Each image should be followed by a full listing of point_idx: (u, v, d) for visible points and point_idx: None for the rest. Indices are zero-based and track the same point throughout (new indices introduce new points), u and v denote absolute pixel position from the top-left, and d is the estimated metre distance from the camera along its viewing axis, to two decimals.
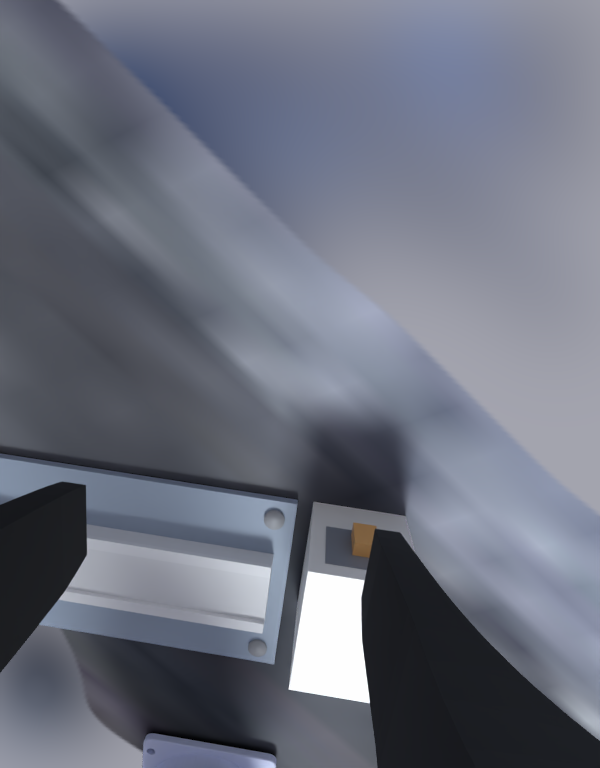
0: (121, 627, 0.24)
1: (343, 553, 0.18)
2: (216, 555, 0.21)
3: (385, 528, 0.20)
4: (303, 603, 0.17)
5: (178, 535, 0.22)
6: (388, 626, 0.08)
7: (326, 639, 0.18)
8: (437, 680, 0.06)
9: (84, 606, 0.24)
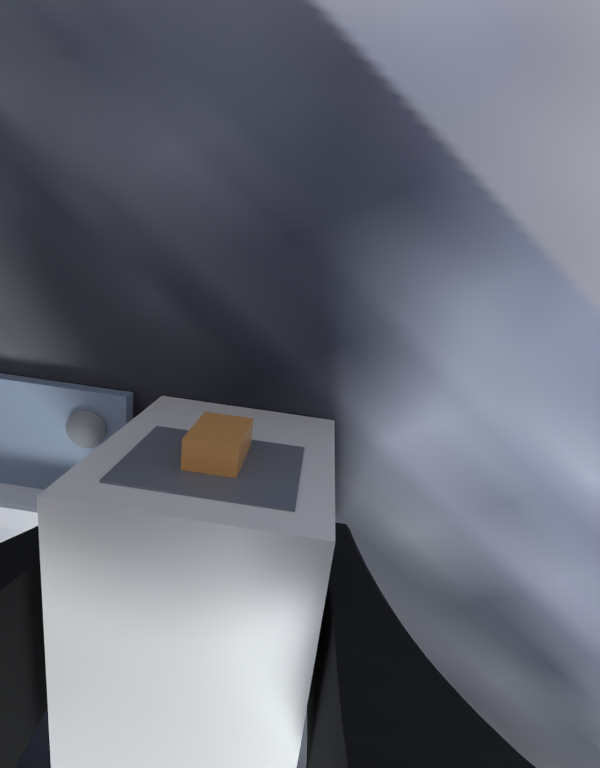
0: None
1: (163, 467, 0.08)
2: None
3: (285, 435, 0.10)
4: (44, 579, 0.07)
5: None
6: None
7: (112, 668, 0.07)
8: (340, 664, 0.06)
9: None
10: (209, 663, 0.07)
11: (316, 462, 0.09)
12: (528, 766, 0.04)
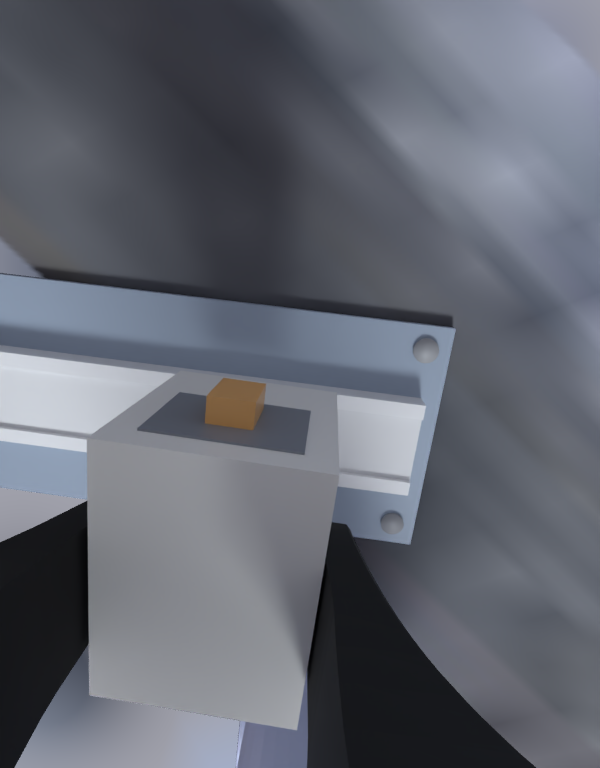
0: None
1: (189, 421, 0.09)
2: (356, 395, 0.18)
3: (293, 402, 0.11)
4: (90, 513, 0.08)
5: (305, 378, 0.18)
6: (320, 615, 0.08)
7: (146, 592, 0.09)
8: (340, 664, 0.06)
9: None
10: (231, 586, 0.08)
11: (321, 421, 0.10)
12: (528, 766, 0.04)
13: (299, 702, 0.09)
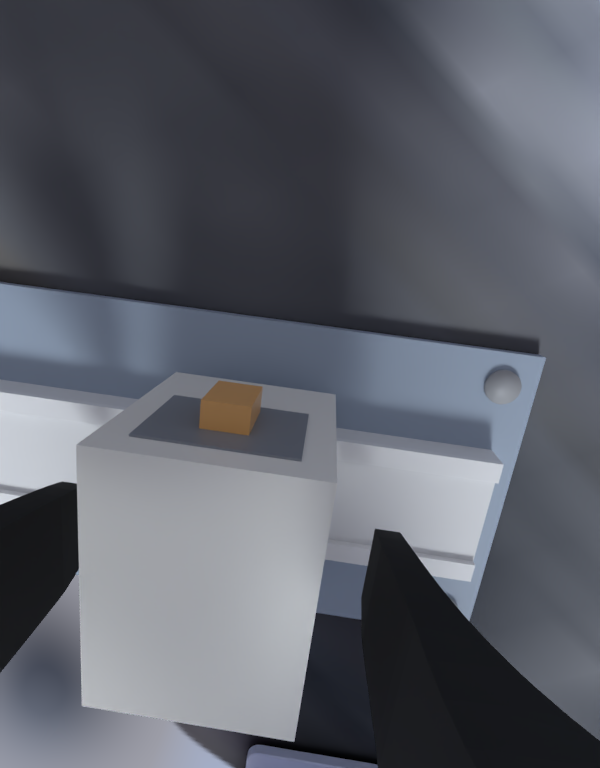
0: None
1: (183, 426, 0.09)
2: (405, 447, 0.13)
3: (290, 404, 0.11)
4: (81, 521, 0.08)
5: None
6: (388, 626, 0.08)
7: (139, 602, 0.08)
8: (437, 680, 0.06)
9: None
10: (226, 596, 0.08)
11: (319, 425, 0.10)
12: None
13: (297, 713, 0.09)
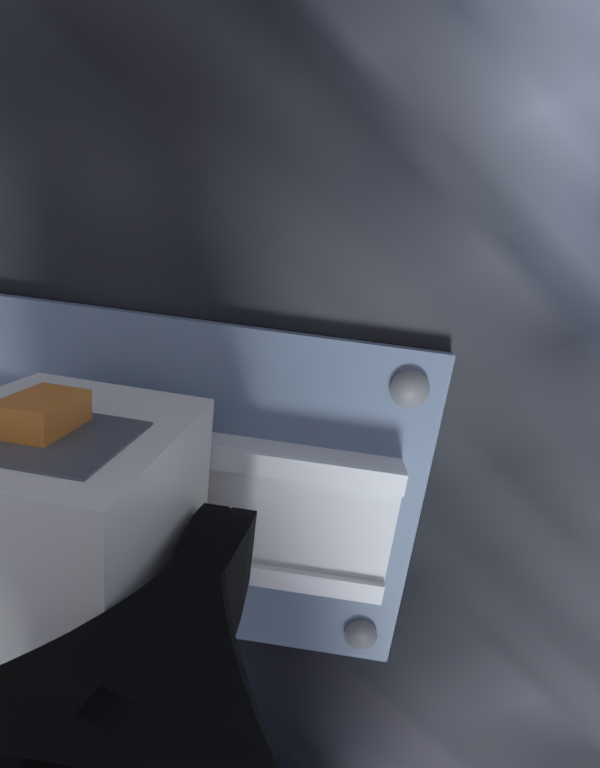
0: None
1: None
2: (301, 456, 0.11)
3: (143, 410, 0.09)
4: None
5: (227, 427, 0.12)
6: None
7: None
8: (131, 630, 0.06)
9: None
10: None
11: (156, 435, 0.08)
12: (251, 720, 0.04)
13: None
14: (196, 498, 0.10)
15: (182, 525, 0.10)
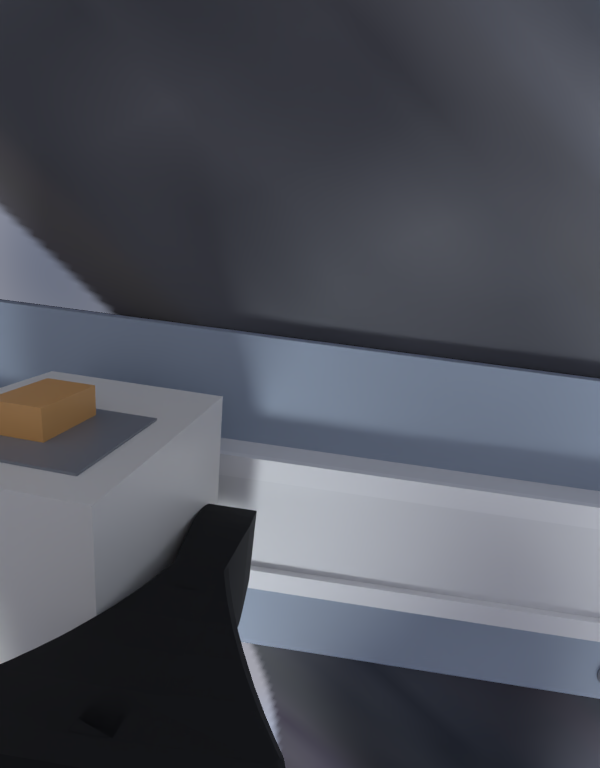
0: (369, 642, 0.14)
1: None
2: None
3: (149, 407, 0.09)
4: None
5: (512, 471, 0.12)
6: None
7: None
8: (135, 631, 0.06)
9: (309, 607, 0.14)
10: None
11: (157, 432, 0.08)
12: (257, 720, 0.04)
13: None
14: (205, 497, 0.10)
15: (187, 524, 0.09)
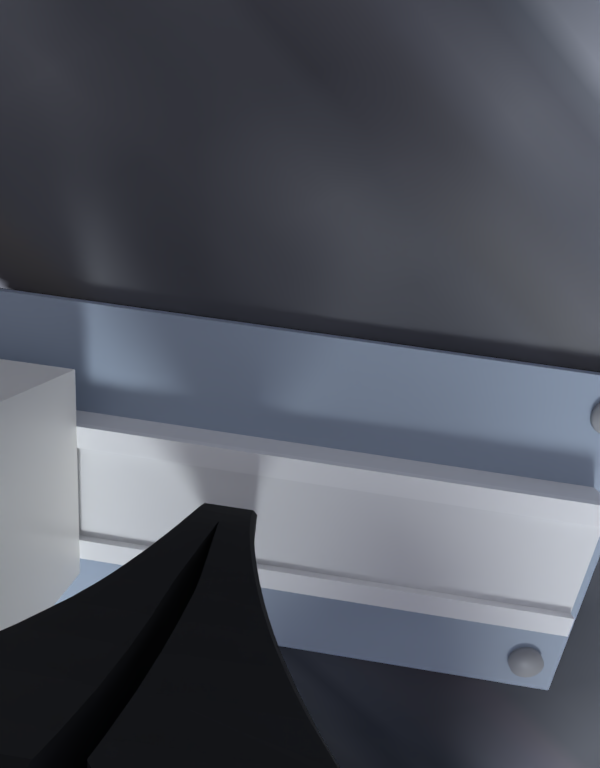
0: (280, 626, 0.14)
1: None
2: (501, 486, 0.11)
3: None
4: None
5: (412, 453, 0.12)
6: None
7: None
8: (174, 637, 0.06)
9: None
10: None
11: None
12: (309, 729, 0.04)
13: None
14: (55, 467, 0.10)
15: (29, 491, 0.10)
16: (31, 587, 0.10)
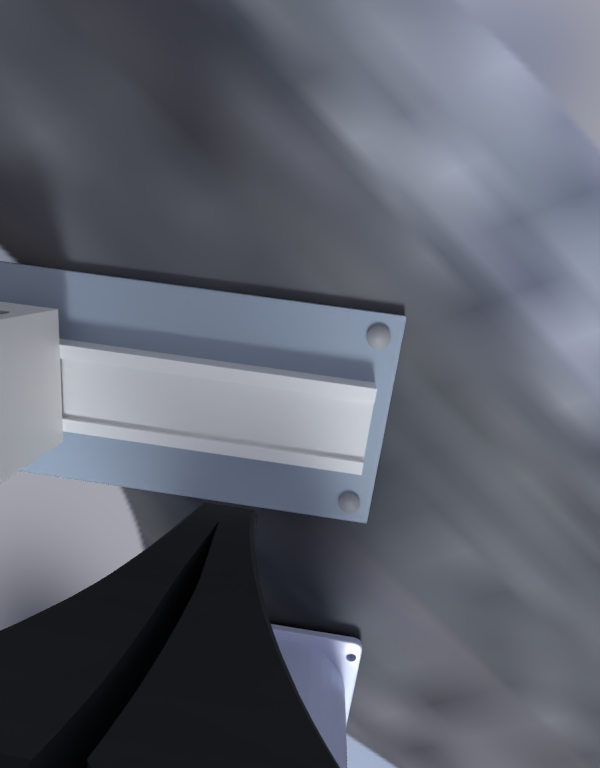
0: (193, 483, 0.21)
1: None
2: (312, 378, 0.19)
3: (7, 309, 0.17)
4: None
5: (265, 362, 0.19)
6: None
7: None
8: (174, 637, 0.06)
9: (153, 458, 0.21)
10: None
11: (6, 315, 0.16)
12: (309, 729, 0.04)
13: None
14: (46, 365, 0.18)
15: (31, 373, 0.17)
16: (32, 432, 0.18)
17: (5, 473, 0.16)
